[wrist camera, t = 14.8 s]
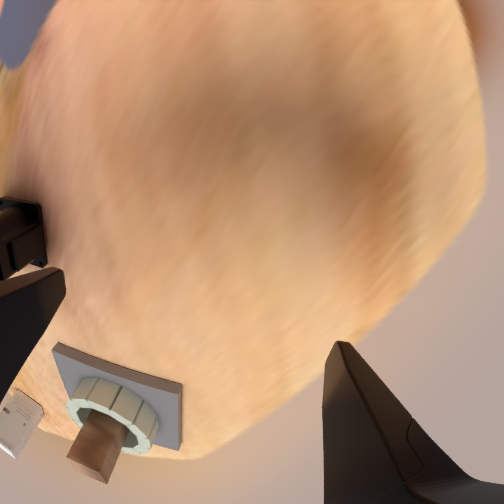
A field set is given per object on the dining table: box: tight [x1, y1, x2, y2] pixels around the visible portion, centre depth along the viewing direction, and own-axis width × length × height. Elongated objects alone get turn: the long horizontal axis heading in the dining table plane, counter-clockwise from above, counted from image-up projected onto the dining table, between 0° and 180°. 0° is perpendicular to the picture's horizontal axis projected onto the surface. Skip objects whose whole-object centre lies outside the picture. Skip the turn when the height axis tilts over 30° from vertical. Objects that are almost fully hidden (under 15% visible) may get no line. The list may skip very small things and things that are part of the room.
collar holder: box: [52, 343, 182, 454], centre depth 30 cm, size 16×14×5 cm
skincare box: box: [0, 390, 44, 459], centre depth 34 cm, size 6×4×12 cm
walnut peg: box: [67, 408, 130, 484], centre depth 26 cm, size 4×4×10 cm
